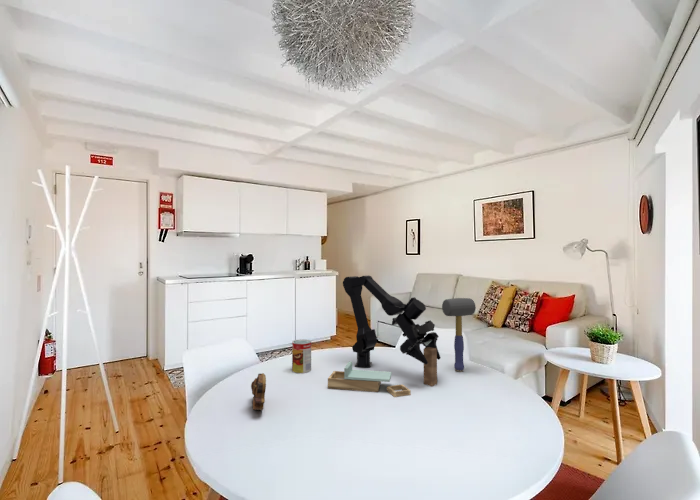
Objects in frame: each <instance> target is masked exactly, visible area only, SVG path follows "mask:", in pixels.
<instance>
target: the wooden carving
mask: <svg viewBox="0 0 700 500" xmlns="http://www.w3.org/2000/svg"><path fill="white" fill-rule="evenodd" d="M266 387H267V377H266V374H265V373H263V372H262V373H258V374H257V377H256V378H254V380H253V381H251V384H250V389H251V394H252V395H253V397H252V409H253V410H254V411H255V410H257V411H263V410H264V405H265V403H266V401H265V397H266V396H265V395H266Z"/></svg>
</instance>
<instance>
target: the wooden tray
mask: <svg viewBox="0 0 700 500" xmlns="http://www.w3.org/2000/svg"><path fill="white" fill-rule="evenodd" d="M381 384H382V382H381V381H366V380H351V379H344V371H341V370H333V371H332V373H331V374H330V375H329V376H328V378H327V389H329V390H330V389H331V390H341V391H342V390H343V391H344V390H345V391H356V392H368V393H370V392H371V393H379V391H380V387H381Z"/></svg>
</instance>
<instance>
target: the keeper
mask: <svg viewBox="0 0 700 500" xmlns="http://www.w3.org/2000/svg"><path fill="white" fill-rule="evenodd" d="M386 391H387V393H389V394H390V395H392V396H393V397H394V398H397V397H404V396H411V393H412V391H411V389H410V388H408V387H406V386H405V385H404V384H395V385H394V384H393V385H386Z"/></svg>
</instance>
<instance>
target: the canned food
mask: <svg viewBox="0 0 700 500" xmlns="http://www.w3.org/2000/svg"><path fill="white" fill-rule="evenodd" d="M291 346H292V347H291V349H292V350H291V352H292V354H291V355H292V358H291V362H292V363H291V365H292V366H291V370H292V371H291V372H292V373H295V374H307V373H309V372H311V371H312V340H311V339H306V338H303V339H302V338H299V339H294V340H292V343H291Z"/></svg>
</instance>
